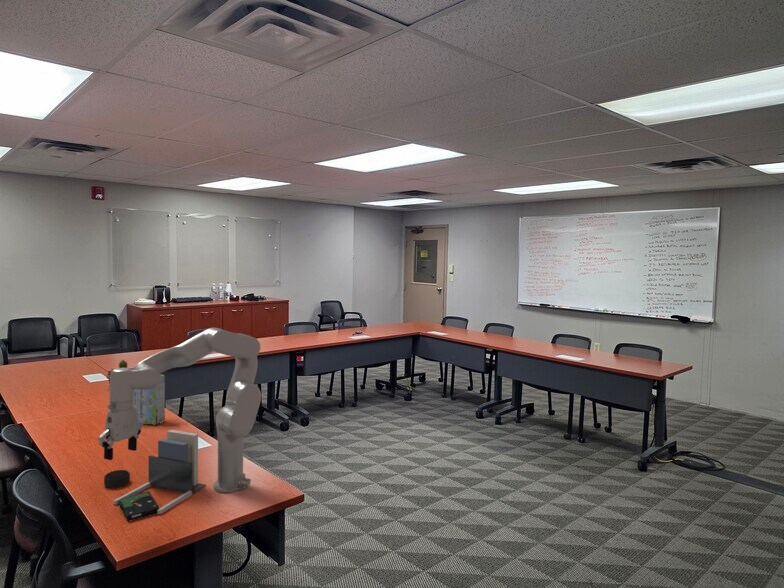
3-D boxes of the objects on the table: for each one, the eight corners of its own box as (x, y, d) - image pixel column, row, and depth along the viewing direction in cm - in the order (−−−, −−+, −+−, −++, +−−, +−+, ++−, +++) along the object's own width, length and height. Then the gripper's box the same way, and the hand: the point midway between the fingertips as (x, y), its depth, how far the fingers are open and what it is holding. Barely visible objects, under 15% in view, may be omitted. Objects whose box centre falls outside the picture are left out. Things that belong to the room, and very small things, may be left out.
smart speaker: (119, 490, 193) (119, 479, 193) (98, 487, 194) (98, 477, 194) (135, 480, 202) (134, 470, 201) (115, 477, 203) (115, 468, 203)
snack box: (166, 421, 274) (166, 374, 272) (155, 426, 265) (155, 377, 264) (130, 418, 278) (129, 371, 276) (119, 422, 269) (118, 375, 267)
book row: (198, 483, 199) (198, 433, 198) (184, 491, 192) (184, 440, 191) (171, 478, 203) (171, 429, 202) (157, 486, 196) (157, 435, 195)
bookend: (206, 485, 198) (206, 455, 198) (191, 494, 190) (191, 463, 189) (164, 477, 204) (164, 448, 204) (148, 486, 196) (148, 455, 196)
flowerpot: (118, 393, 326) (118, 362, 325) (101, 390, 332) (101, 360, 330) (137, 388, 340) (137, 358, 339) (120, 385, 345) (120, 356, 344)
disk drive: (160, 514, 176) (149, 498, 188) (160, 506, 176) (149, 490, 188) (127, 523, 170) (118, 505, 181) (127, 515, 170) (117, 498, 181)
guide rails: (191, 494, 190) (191, 490, 190) (160, 514, 175) (160, 510, 175) (148, 485, 197) (148, 482, 196) (113, 504, 181) (113, 500, 181)
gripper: (108, 412, 162) (107, 465, 162) (150, 400, 178) (149, 448, 179) (90, 409, 164) (89, 461, 165) (134, 397, 180) (132, 444, 181)
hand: (120, 454), depth 172 cm, fingers open, 9 cm apart
